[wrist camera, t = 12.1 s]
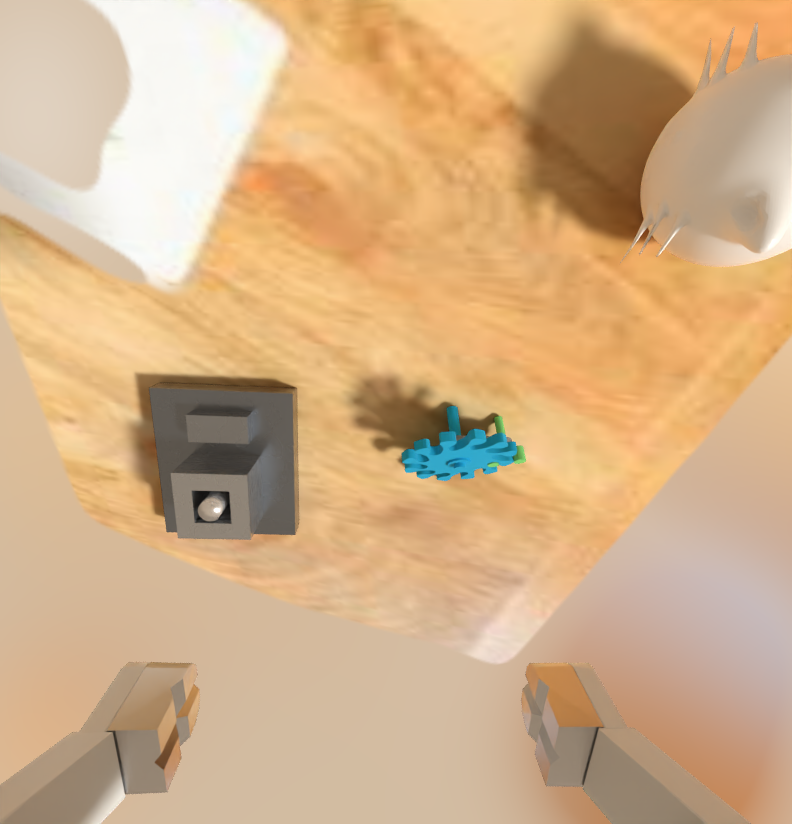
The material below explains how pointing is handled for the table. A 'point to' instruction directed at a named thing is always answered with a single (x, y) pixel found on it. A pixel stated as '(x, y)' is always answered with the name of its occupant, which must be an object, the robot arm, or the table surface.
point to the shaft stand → (231, 443)
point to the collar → (218, 475)
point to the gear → (462, 452)
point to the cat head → (725, 166)
